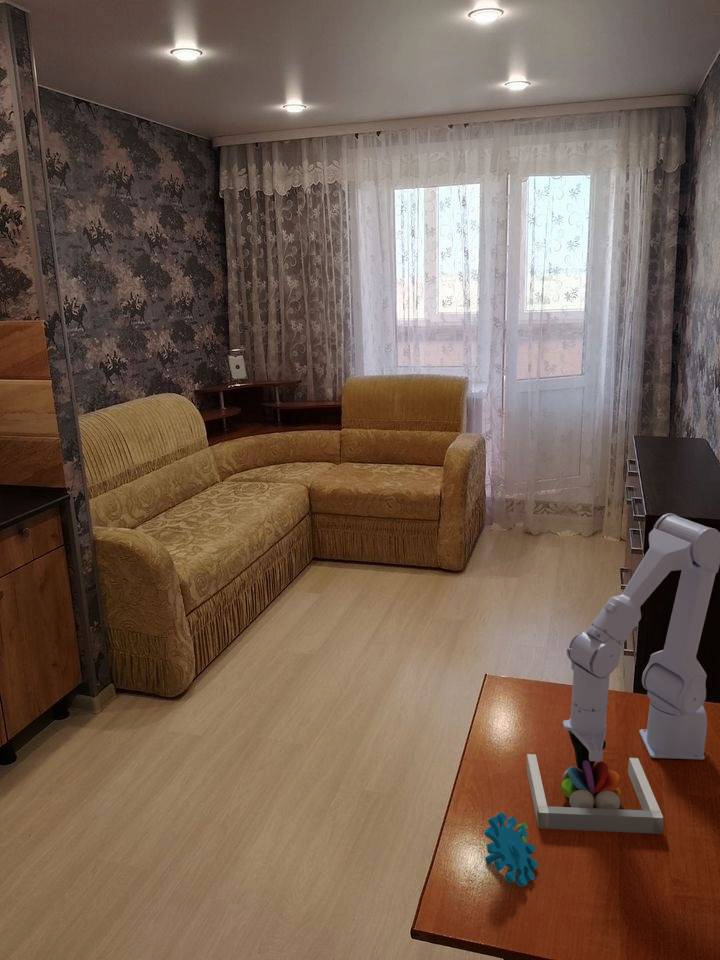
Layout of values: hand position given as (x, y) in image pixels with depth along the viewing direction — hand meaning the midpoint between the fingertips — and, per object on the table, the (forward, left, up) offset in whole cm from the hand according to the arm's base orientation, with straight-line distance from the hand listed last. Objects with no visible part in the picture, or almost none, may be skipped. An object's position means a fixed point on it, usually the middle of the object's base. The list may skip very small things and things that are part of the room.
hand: (584, 770), depth 129 cm
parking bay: (0, +4, -2) cm, 5 cm away
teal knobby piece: (+15, +21, -2) cm, 25 cm away
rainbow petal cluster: (0, +5, -2) cm, 6 cm away
